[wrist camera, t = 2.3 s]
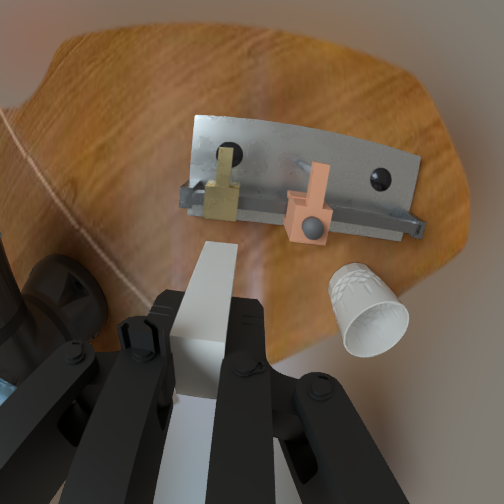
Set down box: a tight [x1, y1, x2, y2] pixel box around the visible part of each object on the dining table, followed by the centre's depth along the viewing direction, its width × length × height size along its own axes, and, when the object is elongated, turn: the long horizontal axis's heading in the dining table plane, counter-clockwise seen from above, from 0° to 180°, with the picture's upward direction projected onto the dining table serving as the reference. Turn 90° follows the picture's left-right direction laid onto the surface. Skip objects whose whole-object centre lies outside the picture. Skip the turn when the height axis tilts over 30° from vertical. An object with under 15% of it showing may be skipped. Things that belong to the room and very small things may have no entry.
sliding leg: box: [283, 161, 333, 245], centre depth 24 cm, size 3×7×9 cm, turn 173°
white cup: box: [328, 263, 409, 357], centre depth 31 cm, size 8×8×10 cm
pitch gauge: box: [179, 115, 426, 242], centre depth 27 cm, size 26×11×7 cm, turn 83°
